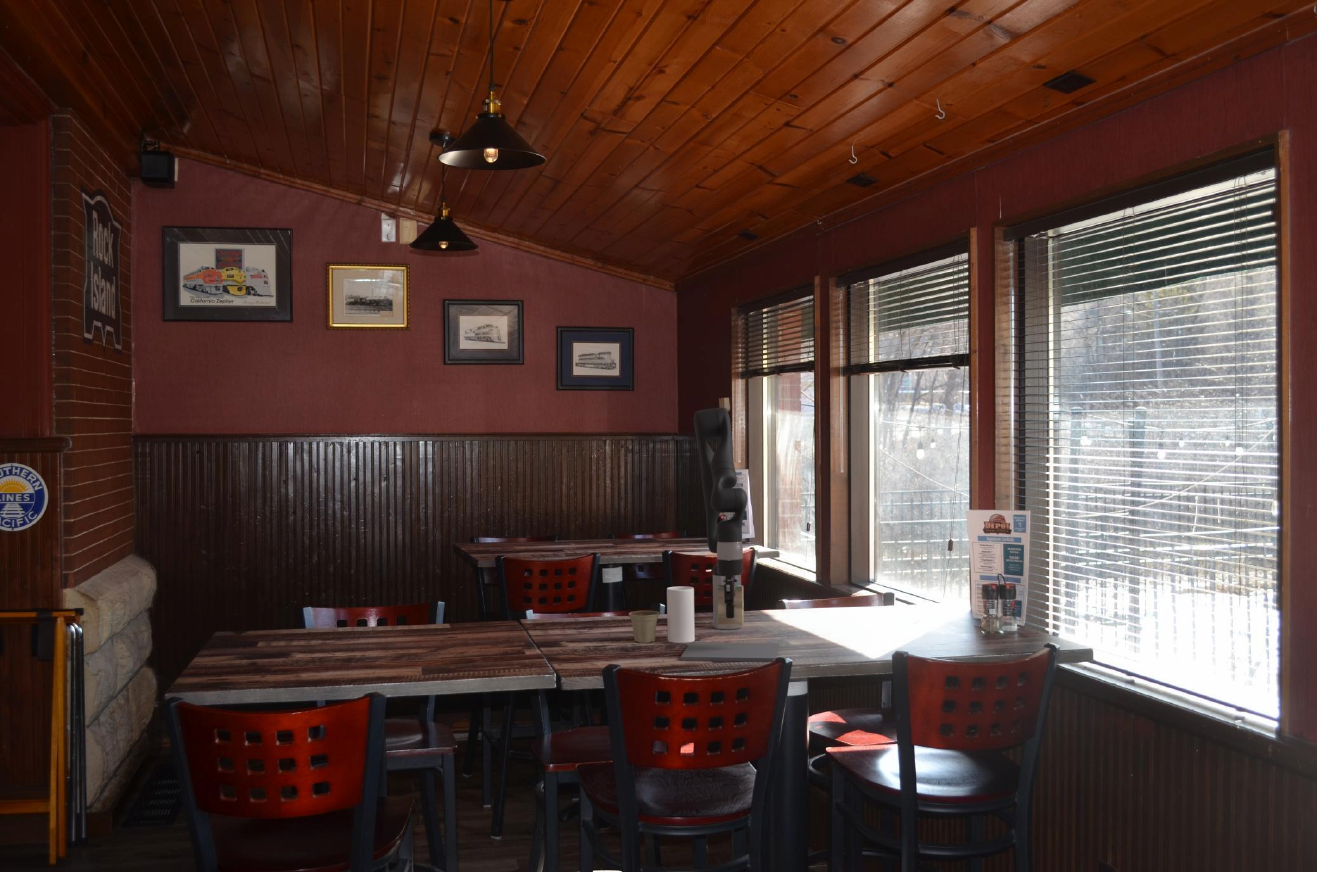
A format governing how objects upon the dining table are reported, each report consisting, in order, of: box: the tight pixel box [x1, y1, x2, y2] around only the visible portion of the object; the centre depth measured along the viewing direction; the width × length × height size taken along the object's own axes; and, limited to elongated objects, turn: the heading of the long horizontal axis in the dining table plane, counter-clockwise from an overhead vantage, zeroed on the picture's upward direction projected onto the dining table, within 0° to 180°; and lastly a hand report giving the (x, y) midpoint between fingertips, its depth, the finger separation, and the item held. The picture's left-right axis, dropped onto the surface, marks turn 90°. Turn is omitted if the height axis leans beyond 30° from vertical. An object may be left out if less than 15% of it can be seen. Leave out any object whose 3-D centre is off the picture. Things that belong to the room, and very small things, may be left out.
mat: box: [680, 641, 780, 663], centre depth 306 cm, size 22×26×1 cm
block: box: [718, 584, 745, 627], centre depth 309 cm, size 4×7×11 cm, turn 81°
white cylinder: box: [666, 585, 696, 644], centre depth 328 cm, size 8×8×16 cm
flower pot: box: [628, 610, 660, 644], centre depth 328 cm, size 9×9×9 cm
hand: (730, 616), depth 309 cm, fingers closed on block, 4 cm apart
